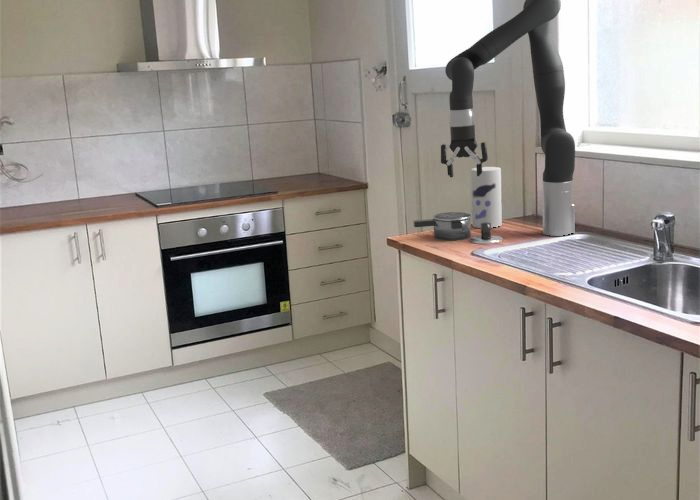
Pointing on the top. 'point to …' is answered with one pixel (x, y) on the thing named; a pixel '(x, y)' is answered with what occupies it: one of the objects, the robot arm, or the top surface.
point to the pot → (448, 225)
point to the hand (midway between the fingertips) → (465, 176)
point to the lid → (485, 235)
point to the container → (486, 197)
